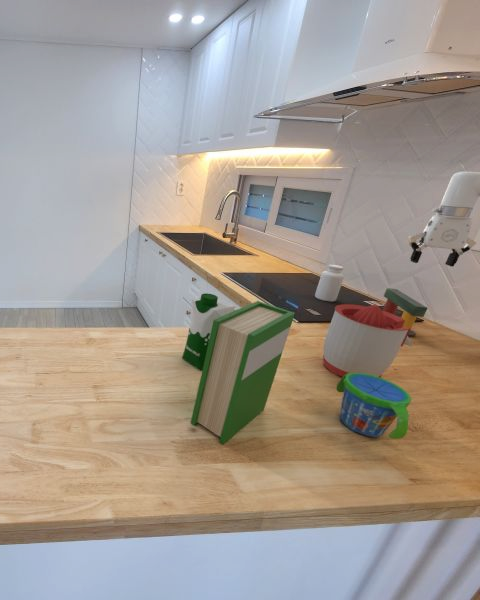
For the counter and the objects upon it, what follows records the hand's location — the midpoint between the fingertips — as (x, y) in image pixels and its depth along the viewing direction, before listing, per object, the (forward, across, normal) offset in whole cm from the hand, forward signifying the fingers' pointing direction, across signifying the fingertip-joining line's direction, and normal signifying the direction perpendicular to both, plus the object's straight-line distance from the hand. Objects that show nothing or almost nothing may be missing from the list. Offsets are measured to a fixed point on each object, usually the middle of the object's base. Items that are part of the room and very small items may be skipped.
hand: (431, 263), depth 115 cm
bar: (+16, -3, 0) cm, 16 cm away
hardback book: (+23, -65, -78) cm, 104 cm away
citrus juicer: (+24, -31, -45) cm, 60 cm away
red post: (+24, -3, +6) cm, 25 cm away
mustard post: (+24, -3, -6) cm, 25 cm away
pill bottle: (+24, -19, +22) cm, 38 cm away
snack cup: (+24, -38, -70) cm, 83 cm away
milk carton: (+23, -71, -57) cm, 94 cm away
